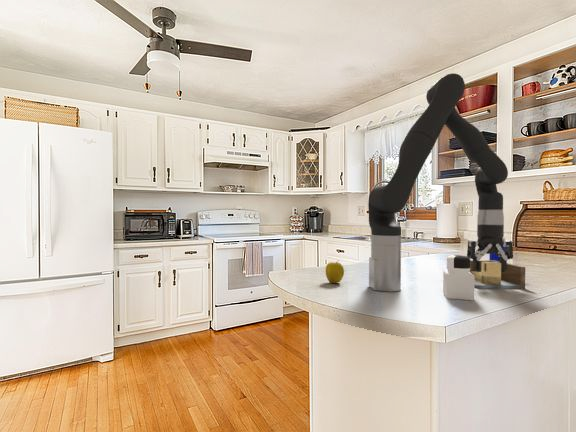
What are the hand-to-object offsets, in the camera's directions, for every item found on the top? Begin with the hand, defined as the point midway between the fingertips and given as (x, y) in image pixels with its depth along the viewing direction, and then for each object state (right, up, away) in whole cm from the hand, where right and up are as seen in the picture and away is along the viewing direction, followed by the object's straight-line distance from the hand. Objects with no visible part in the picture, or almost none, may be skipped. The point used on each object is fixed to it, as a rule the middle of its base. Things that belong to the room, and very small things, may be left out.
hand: (489, 271), depth 108 cm
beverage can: (+15, -5, +19) cm, 25 cm away
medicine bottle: (-18, -5, -14) cm, 23 cm away
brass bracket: (0, -4, +3) cm, 5 cm away
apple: (-52, -5, +3) cm, 52 cm away
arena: (+1, -5, +4) cm, 6 cm away
